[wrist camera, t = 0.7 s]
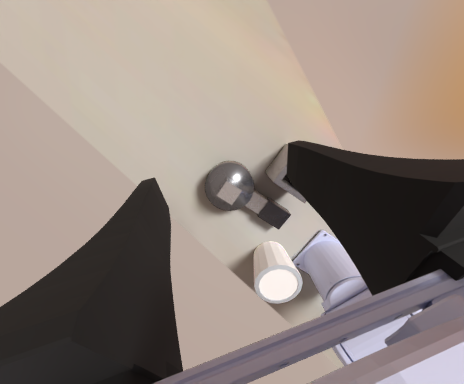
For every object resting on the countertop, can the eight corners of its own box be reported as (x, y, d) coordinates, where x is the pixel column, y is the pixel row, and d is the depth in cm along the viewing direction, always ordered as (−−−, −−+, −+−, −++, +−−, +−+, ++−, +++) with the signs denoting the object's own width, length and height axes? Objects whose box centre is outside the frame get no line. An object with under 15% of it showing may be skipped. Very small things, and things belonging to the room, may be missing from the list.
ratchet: (295, 200, 31) (306, 212, 26) (268, 232, 33) (275, 250, 28) (222, 151, 29) (221, 155, 24) (198, 189, 30) (192, 200, 26)
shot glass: (248, 239, 33) (253, 267, 26) (289, 236, 33) (303, 263, 26) (251, 272, 35) (255, 306, 28) (289, 269, 35) (302, 302, 28)
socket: (311, 162, 29) (331, 170, 23) (290, 189, 30) (304, 203, 25) (285, 143, 28) (299, 147, 22) (265, 172, 29) (273, 182, 24)
